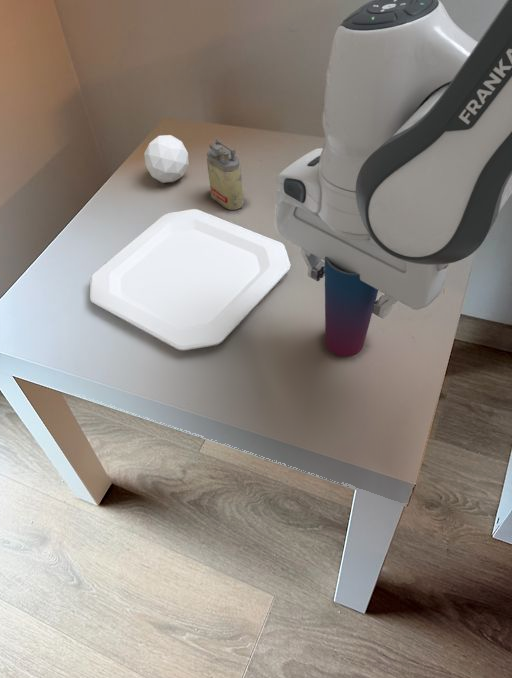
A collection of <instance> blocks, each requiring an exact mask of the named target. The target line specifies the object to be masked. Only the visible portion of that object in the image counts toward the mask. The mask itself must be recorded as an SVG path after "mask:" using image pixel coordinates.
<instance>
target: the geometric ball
mask: <svg viewBox="0 0 512 678" xmlns="http://www.w3.org/2000/svg"><path fill="white" fill-rule="evenodd" d="M143 157H144V162H145V163H144V164H145V167H146V169H147V171H148V172H149V174H150V176H151V178H153V179H156V180H157V181H158V182H160V183H161V184H165V183H174V182H176V181H178V180H179V179H180V178H182V177H183V176H184V175H185V173H186V171H187V169H188V167H189V165H190V164H189V162H190V161H189V152H188V150H187V148H186V147H185V145H184V143H183V141H182V140H180V139H178V138H177V137H175V136H173V135H172V134H167V135H166V134H165V135H157V136H156V137H155V138H154V139H152V140H151V141H150V142H149V144H148V146H147V147H146V149H145V151H144V153H143Z"/></svg>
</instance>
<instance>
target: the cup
mask: <svg viewBox="0 0 512 678" xmlns="http://www.w3.org/2000/svg"><path fill="white" fill-rule="evenodd" d="M324 263H325V276H324V331H325V332H324V335H325V336H324V340H325V341H324V342H325V346H326V349H328V350H329V352H331V353H332V354H334V355H335V356H340V357H352V356H355V355H357V354H359V353H360V352H361V351H362V349H363V348H364V345H365V341H366V338H367V334H368V330H369V326H370V323H371V319H372V317H373V316H372V315H373V313H372V310H373V304H374V303H375V302H376V301H377V297H378V293H379V290H377V289H375V288H374V287H372V286H370V285H368V284H366V283H364V282H363V281H361V280H360V274H353V273H347V272H344V271H342V270H341V269H339V268H337V267H335V266H333V265H332V264H331V263H330V261H329V259H328V258H327V257H325V261H324Z"/></svg>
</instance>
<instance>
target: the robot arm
mask: <svg viewBox="0 0 512 678" xmlns="http://www.w3.org/2000/svg"><path fill="white" fill-rule="evenodd" d="M327 61H328V62H327V67H326V75H325V80H324V90H323V98H322V110H321V124H322V128H323V129H322V130H323V133H324V134H323V135H324V144H323V147H318V148H315V149H313V150H311V151H309V152H307V153H306V154H304V155H303V156H300V157H299V158H297V159H296V160H295V161H293V162H292V163H290V164H289V165H287V167H285V168H284V169H283V170H282V171H281V172H280V173H278V175H277V176H276V177H277V178H276V186H277V189H278V192H277V194H276V196H275V201H274V227H275V230H276V231H277V233H278V235H279V237H280V238H282V239H283V240H285V241H287V242H289V243H291V244H293V245H294V246H296V247H298V248H300V254H301V256H302V258H303V260H304V262H305V264H306V266H307V277H308V278H311V279H313V280H315V281H316V282H320V280H321V279H323V278H325V257H327V258H328V259H329V261H330V263H331V264H332V265H333V266H335V267H337V268H339V269H341V270H342V271H344V272H347V273H353V274H360V280H361V281H363V282H364V283H366V284H368V285H370V286H372V287H374V288H375V289H377V290H378V292H381V293H383V294H382V295H381V296H379V299H376V301H375V303H374V304H373V310H372V314H374V315H375V316H377V317H379V318H380V319H382V320H383V319H385V318H386V317H387V316H388V315H389V314H390V313H391V311H392V309H393V305H395V304H397V302H399V303H401V304H403V305H405V306H407V307H408V308H410V309H412V310H415V311H419V310H422V309H425V308H427V307H428V306H429V305H431V304H432V303H433V302H434V301H435V300H436V299H437V298H438V297H439V296H440V294H441V293H442V291H443V288H444V285H445V281H446V278H447V277H446V276H447V270H448V266H449V265H450V264H453V263H457V262H459V261H462V260H463V259H466V258H468V257H469V256H471V255H472V254H474V253H475V252H477V250H478V249H479V248H480V247H481V245H483V243H484V241H485V240H486V239H487V236H488V235H489V233H490V231H491V229H492V228H493V226H494V224H495V222H496V220H497V218H498V215H499V213H500V212H501V211H502V209H503V208H504V206H505V205H506V203H507V201H508V200H509V198H510V197H511V195H512V0H506V1H505V3H504V4H503V5H502V7H501V9H500V10H499V11H498V13H497V14H496V16H495V17H494V18H493V20H492V21H491V23H490V25H489V26H488V27H487V29H486V30H485V32H484V33H483V34H482V36H481V37H480V39H479V40H478V41H477V40H475V38H473V37H471V36H470V35H469V34H468V33H466V32H465V31H464V30H462V29H461V28H460V27H459V26H458V25H457V24H456V22H454V21H453V19H452V18H451V17H450V14H449V13H448V11H447V10H446V8H445V6H444V4H443V2H441V0H370V1H368V2H366V3H365V4H363V5H361V6H360V7H358V8H357V9H356V10H354V11H353V12H351V13H350V14H349V15H348V16H346V17H345V19H343V21H342V22H341V23H340V24H339V25H338V27H337V29H336V31H335V34H334V37H333V39H332V43H331V47H330V50H329V57H328V60H327Z"/></svg>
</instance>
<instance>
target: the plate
mask: <svg viewBox="0 0 512 678" xmlns="http://www.w3.org/2000/svg"><path fill="white" fill-rule="evenodd" d="M291 266H292V265H291V261H290V258H289V254H288V252H287V248H286V246H285V244H283V243H282V242H281V241H278V240H276V239H273V238H270V237H268V236H265V235H264V234H260V233H259V232H255V231H254V230H253V231H252V230H250V229H248V228H245V227H243V226H241V225H237V224H236V223H233V222H230V221H229V220H228V221H227V220H225V219H222V218H220V217H218V216H216V215H215V216H214V214H213V215H212V214H210V213H207V212H205V211H203V210H200V209H197V208H191V209H185V210H181V211H179V210H178V211H174V212H173V211H172V212H167V213H165V214H163V215H162V216H160V217H159V218H158V219H157V220H156V221H155V222H153V223H152V224H151V225H150V226H149V227H147V228H146V229H144V231H142V232H141V233H140V234H139V235H138V236H136V238H134V239H133V240H132V241H130V242H129V243H128V244H126V246H124V248H122V249H121V250H120V251H119V252H118V253H116V254H115V255H114V256H112V257H111V258H110V259H109V260H108V261H107V262H106V263H104V264H103V265H101V267H99V268H98V269H97V270H96V271H95V272H94V273H92V274H91V276H90V277H89V278H90V281H89V283H90V285H89V300H90V302H91V303H92V304H95V305H96V306H97V307H99V308H101V309H103V310H105V311H107V312H108V313H110V314H112V315H114V316H116V317H118V318H120V319H121V320H123V321H125V322H126V323H128V324H131V325H132V326H134V327H136V328H138V329H139V330H141V331H143V332H145V333H146V334H148V335H150V336H151V337H154V338H155V339H158V340H160V341H162V342H163V343H164V344H167V345H169V346H171V347H172V348H173V349H176V350H178V351H183V352H184V351H185V352H186V351H189V350H197V349H201V348H208V347H214V346H218V345H219V344H221V343H223V342H224V341H225V340H226V338H227V337H228V336H229V335H230V334H231V333H232V332H233V331H234V330H236V328H237V327H238V326H239V325H240V324H241V323H242V321H243V320H244V319H245V318H246V317H247V316H248V315H249V314H250V313H251V312H252V311H253V310H254V309H255V307H256V306H257V305H258V304H259V303H260V302H262V301H263V299H264V298H265V297H266V296H267V295H268V294H269V293H270V292H271V291H272V289H274V287H275V286H276V285H277V284H278V283H279V282H280V281H281V280H282V279H283V278H284V277H285V275H287V273H288V272H289V271H290V270H291Z"/></svg>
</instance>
